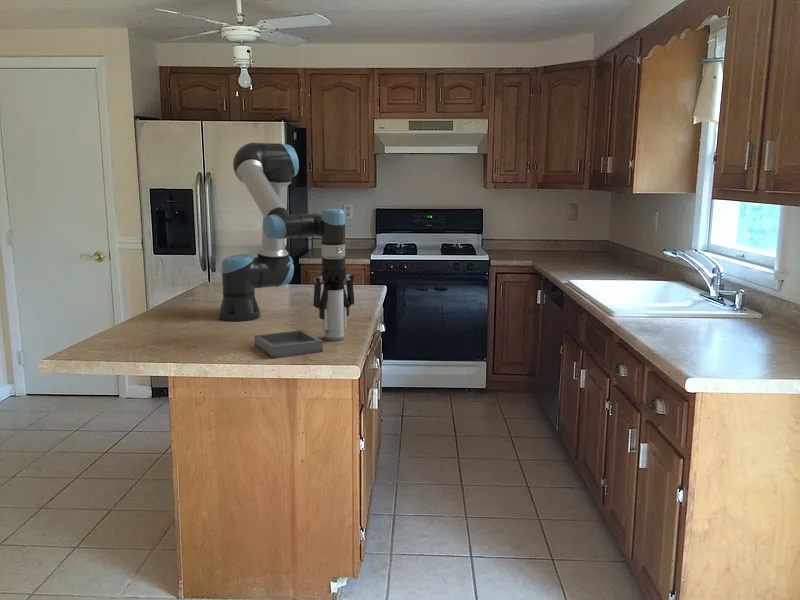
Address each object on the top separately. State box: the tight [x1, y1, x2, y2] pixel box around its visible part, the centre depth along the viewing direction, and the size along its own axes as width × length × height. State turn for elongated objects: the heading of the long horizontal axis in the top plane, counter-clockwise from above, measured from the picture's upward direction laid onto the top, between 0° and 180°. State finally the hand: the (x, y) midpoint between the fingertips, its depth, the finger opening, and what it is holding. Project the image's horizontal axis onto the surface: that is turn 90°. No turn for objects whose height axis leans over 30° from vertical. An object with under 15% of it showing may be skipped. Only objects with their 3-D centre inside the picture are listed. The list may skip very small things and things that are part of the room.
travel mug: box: [323, 280, 345, 342], centre depth 214 cm, size 6×7×20 cm
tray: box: [254, 329, 324, 360], centre depth 202 cm, size 16×16×4 cm
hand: (334, 327), depth 215 cm, fingers closed on travel mug, 6 cm apart
